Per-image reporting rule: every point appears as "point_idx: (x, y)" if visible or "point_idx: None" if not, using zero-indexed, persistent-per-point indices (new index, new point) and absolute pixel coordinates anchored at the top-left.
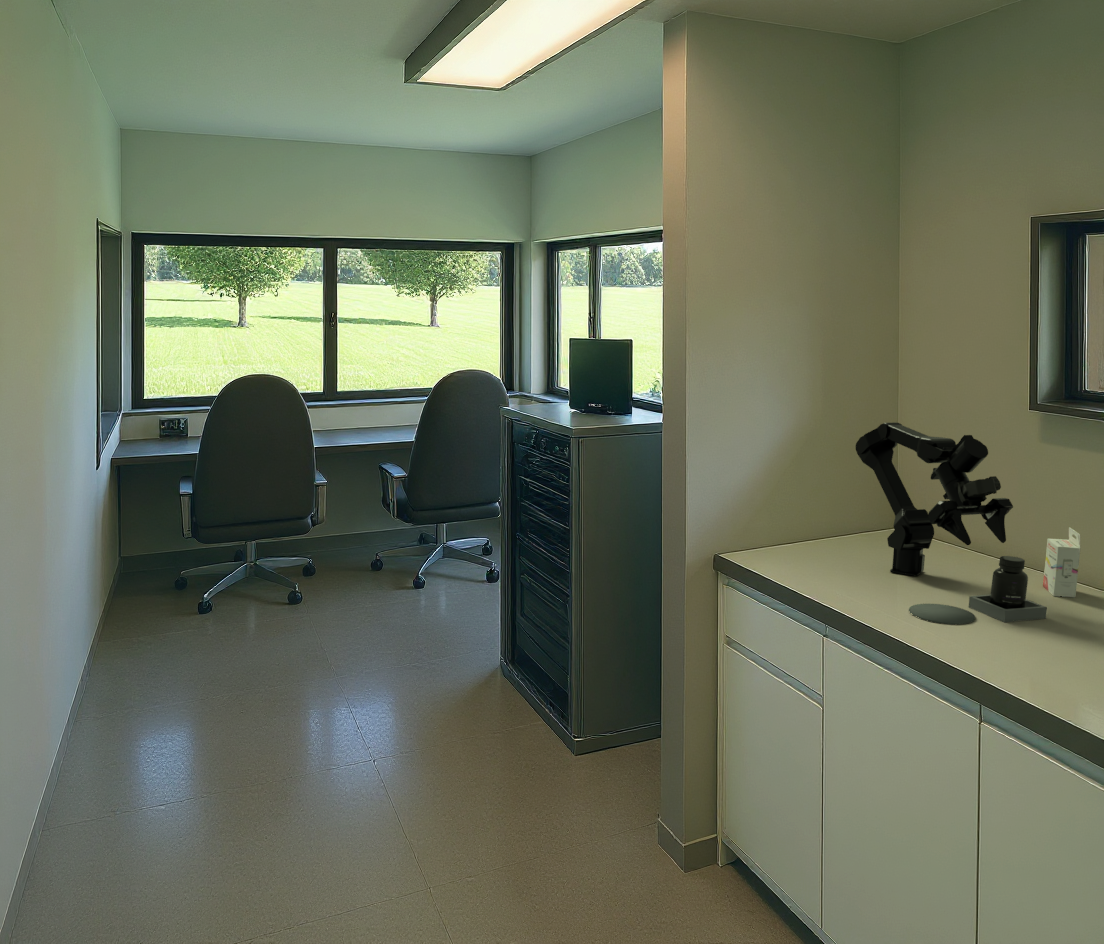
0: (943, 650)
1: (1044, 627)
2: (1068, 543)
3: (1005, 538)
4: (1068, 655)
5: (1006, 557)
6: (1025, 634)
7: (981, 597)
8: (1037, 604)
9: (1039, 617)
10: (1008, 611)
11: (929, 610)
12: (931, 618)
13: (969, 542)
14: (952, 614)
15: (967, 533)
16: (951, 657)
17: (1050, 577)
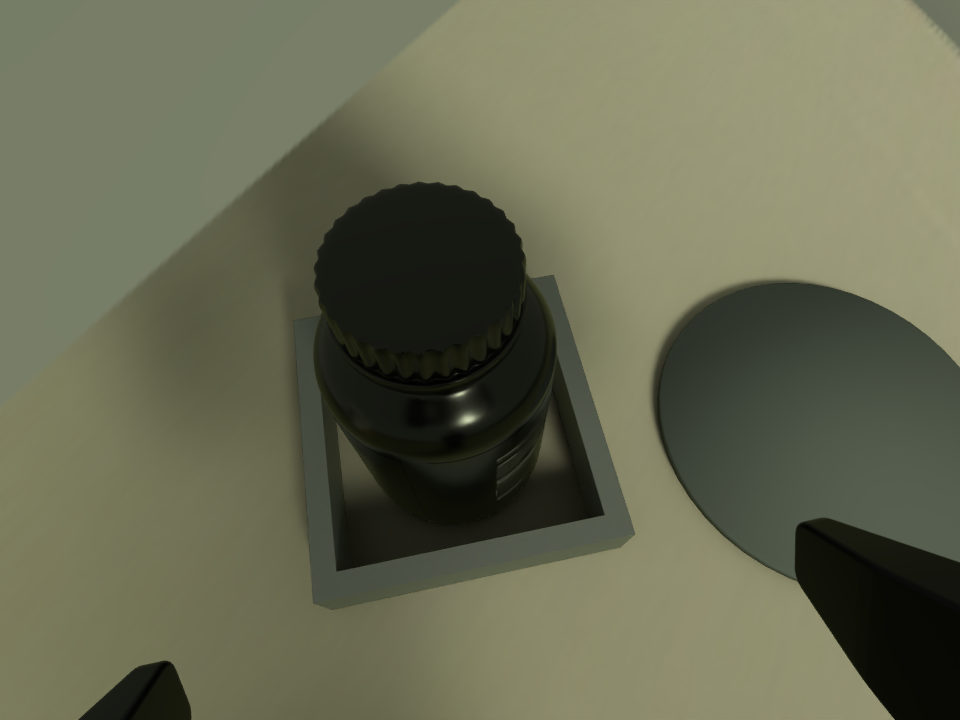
0: (908, 70)
1: None
2: None
3: (121, 688)
4: (508, 32)
5: (455, 292)
6: (538, 182)
7: (554, 528)
8: (311, 362)
9: None
10: (534, 280)
11: (886, 458)
12: (899, 337)
13: (826, 523)
14: (775, 390)
15: (937, 593)
16: (894, 28)
17: None
